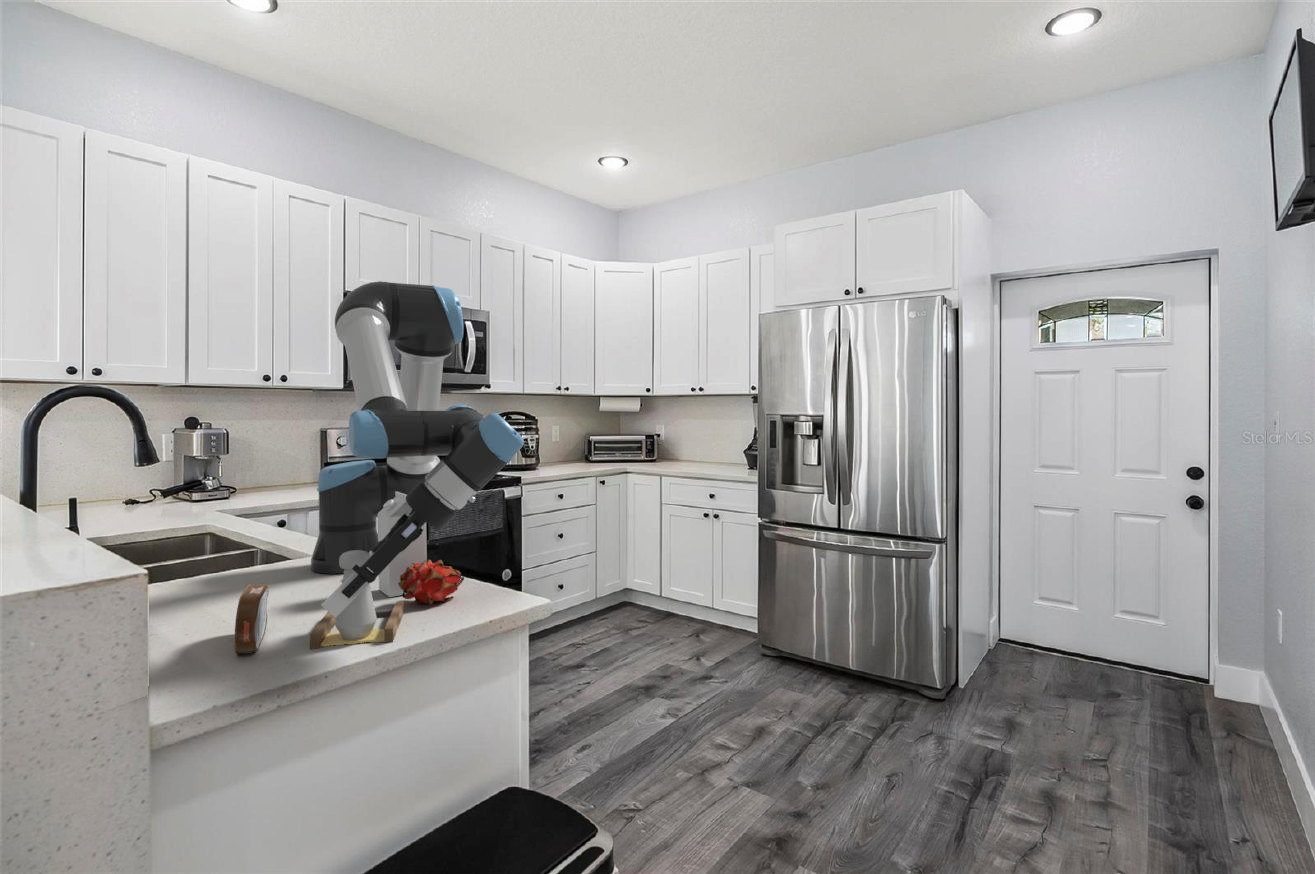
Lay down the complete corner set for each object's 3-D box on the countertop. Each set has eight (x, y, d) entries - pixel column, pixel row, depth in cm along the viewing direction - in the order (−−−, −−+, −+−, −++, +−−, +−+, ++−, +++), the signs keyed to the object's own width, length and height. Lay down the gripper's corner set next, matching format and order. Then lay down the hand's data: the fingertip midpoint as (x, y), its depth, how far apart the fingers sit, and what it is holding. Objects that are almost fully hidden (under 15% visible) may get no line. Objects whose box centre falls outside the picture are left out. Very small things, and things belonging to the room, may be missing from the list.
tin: (249, 631, 107) (247, 578, 106) (271, 628, 108) (270, 576, 108) (232, 663, 93) (230, 603, 93) (258, 660, 94) (257, 600, 94)
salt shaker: (360, 643, 99) (359, 556, 99) (326, 641, 101) (324, 555, 100) (384, 630, 105) (382, 548, 105) (351, 628, 106) (350, 547, 106)
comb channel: (331, 618, 113) (331, 606, 113) (403, 612, 116) (403, 601, 116) (310, 648, 98) (309, 635, 98) (393, 641, 101) (392, 628, 101)
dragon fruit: (392, 615, 120) (458, 614, 126) (405, 596, 114) (474, 595, 121) (391, 571, 124) (455, 572, 131) (403, 550, 118) (470, 552, 125)
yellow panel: (327, 635, 104) (327, 633, 104) (388, 630, 106) (388, 628, 106) (320, 646, 99) (320, 644, 99) (384, 641, 101) (384, 638, 101)
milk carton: (415, 584, 135) (414, 490, 134) (427, 591, 129) (425, 493, 128) (378, 590, 130) (376, 492, 130) (389, 598, 125) (387, 496, 124)
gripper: (455, 525, 94) (341, 640, 91) (460, 501, 118) (370, 592, 115) (415, 488, 92) (297, 604, 89) (428, 472, 116) (336, 563, 113)
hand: (338, 598), depth 102 cm, fingers open, 13 cm apart
